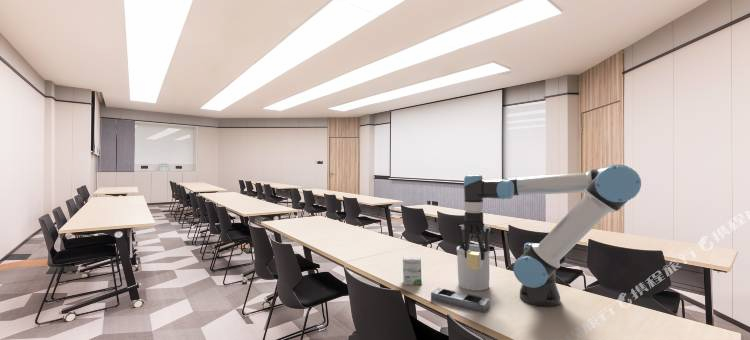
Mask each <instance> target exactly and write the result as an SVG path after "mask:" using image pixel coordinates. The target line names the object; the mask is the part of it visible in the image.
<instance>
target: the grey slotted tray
mask: <svg viewBox="0 0 750 340" xmlns="http://www.w3.org/2000/svg"><path fill="white" fill-rule="evenodd" d="M430 300H431V301H434V300H435V302H438V303H442V304H447V305H449V306H450V305H451V306H453V307H457V308H463V309H466V310H471V311H474V312H478V313H482V314H484V313H485V312H487V310H488V309H489V308H490V304H491V303H490V302H491V301H490V298H488V297H483V296H477V295H474V294H470V293H469V294H468V293H465V292H461V291H456V290H452V289H447V288H445V287H444V288H443V287H439V286H438V287H437V288H435V289H434V290H432V291H431V292H430Z"/></svg>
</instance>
